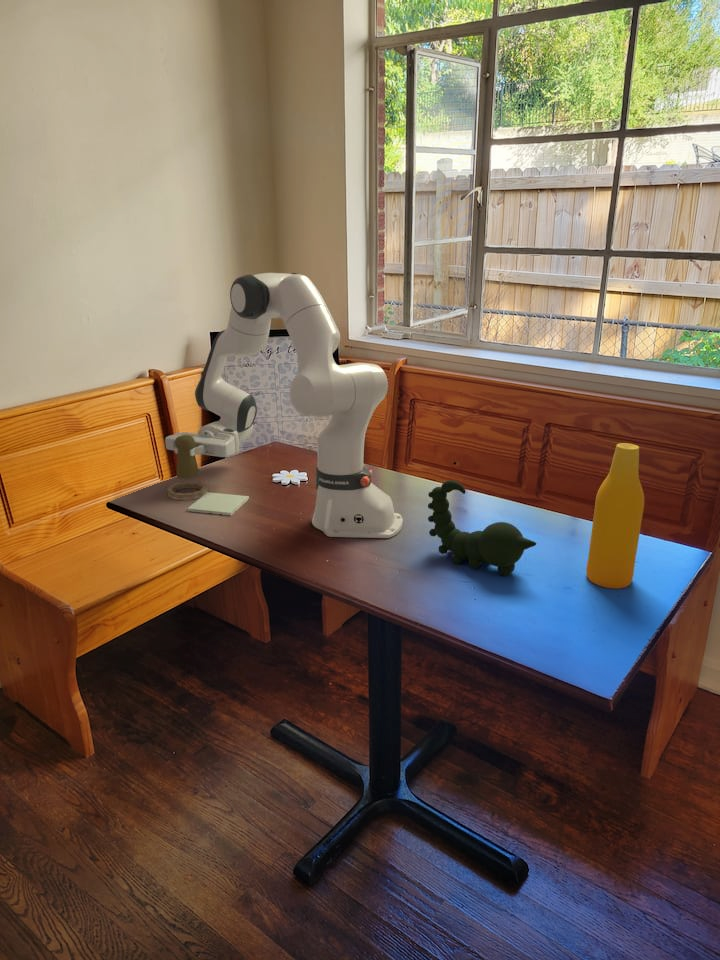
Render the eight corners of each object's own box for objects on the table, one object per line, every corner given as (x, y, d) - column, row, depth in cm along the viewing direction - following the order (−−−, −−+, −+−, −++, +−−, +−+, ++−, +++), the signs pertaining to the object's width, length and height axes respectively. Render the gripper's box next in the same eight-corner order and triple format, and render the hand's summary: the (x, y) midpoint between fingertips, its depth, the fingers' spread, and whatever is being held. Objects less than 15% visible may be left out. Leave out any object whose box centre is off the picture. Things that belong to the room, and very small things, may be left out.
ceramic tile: (249, 499, 185) (248, 496, 185) (231, 515, 174) (230, 512, 174) (207, 495, 188) (207, 492, 188) (187, 511, 177) (187, 508, 177)
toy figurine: (422, 563, 153) (525, 589, 138) (419, 482, 148) (525, 500, 132) (445, 549, 160) (545, 573, 145) (442, 471, 155) (547, 487, 139)
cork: (192, 479, 184) (189, 440, 180) (172, 477, 185) (168, 438, 181) (203, 472, 189) (199, 434, 185) (183, 471, 191) (179, 432, 187)
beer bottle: (576, 577, 144) (593, 445, 134) (600, 564, 150) (617, 436, 140) (617, 594, 137) (638, 456, 128) (640, 580, 143) (662, 446, 133)
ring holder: (213, 488, 193) (213, 483, 192) (196, 501, 183) (196, 496, 183) (179, 485, 195) (179, 480, 195) (161, 497, 185) (160, 492, 185)
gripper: (182, 424, 199) (150, 436, 187) (242, 431, 191) (213, 444, 179) (184, 445, 201) (153, 459, 189) (243, 453, 193) (215, 467, 181)
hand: (182, 452), depth 184 cm, fingers closed on cork, 3 cm apart
